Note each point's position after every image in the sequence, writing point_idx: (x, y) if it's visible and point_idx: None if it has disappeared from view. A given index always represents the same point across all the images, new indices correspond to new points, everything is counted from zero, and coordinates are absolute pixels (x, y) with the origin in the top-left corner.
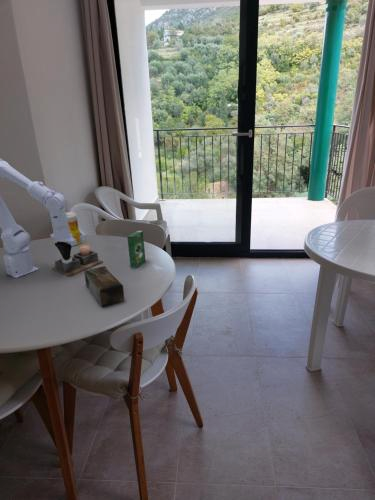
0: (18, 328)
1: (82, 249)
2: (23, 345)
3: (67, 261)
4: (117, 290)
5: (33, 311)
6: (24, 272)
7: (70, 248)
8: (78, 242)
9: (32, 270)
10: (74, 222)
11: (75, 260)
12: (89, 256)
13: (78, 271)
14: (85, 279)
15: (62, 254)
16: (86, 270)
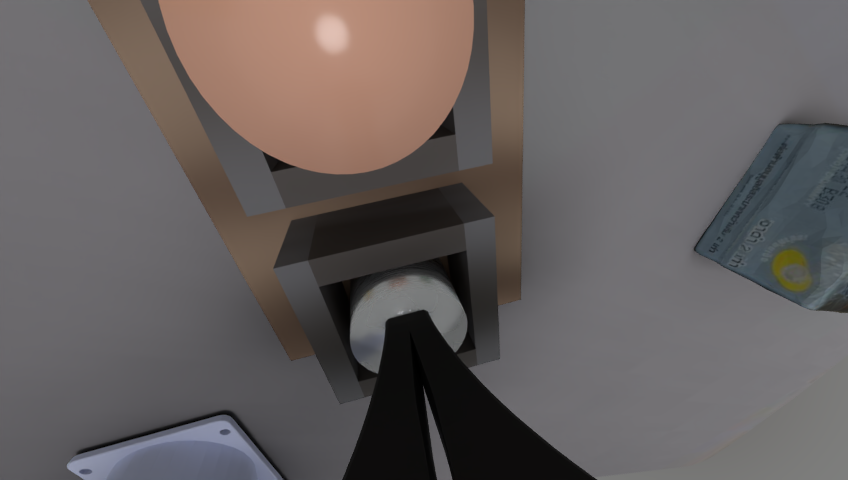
0: (667, 452)
1: (426, 134)
2: (730, 442)
3: (460, 334)
4: None
5: (637, 429)
6: (254, 476)
7: (516, 425)
8: None
9: (240, 445)
10: None
11: (480, 260)
12: (482, 45)
13: (521, 231)
14: (743, 275)
15: (428, 428)
16: (837, 301)
